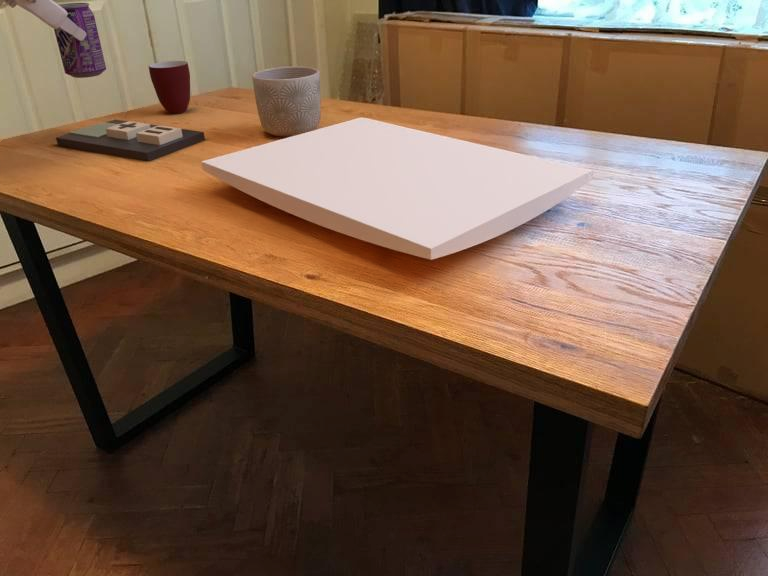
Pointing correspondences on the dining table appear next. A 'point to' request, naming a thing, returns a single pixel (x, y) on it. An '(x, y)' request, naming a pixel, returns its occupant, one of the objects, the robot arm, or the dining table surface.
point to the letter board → (130, 139)
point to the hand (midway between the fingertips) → (80, 35)
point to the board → (400, 185)
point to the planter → (288, 99)
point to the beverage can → (80, 43)
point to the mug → (171, 85)
